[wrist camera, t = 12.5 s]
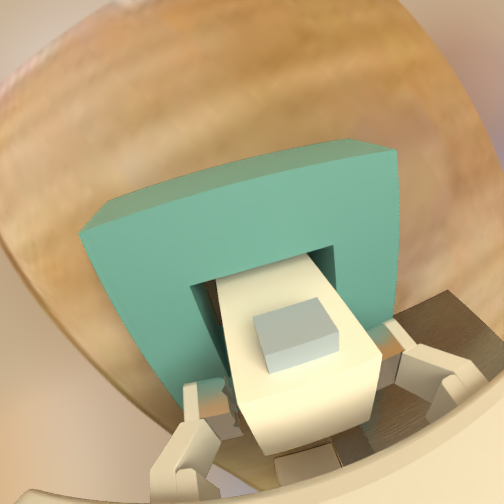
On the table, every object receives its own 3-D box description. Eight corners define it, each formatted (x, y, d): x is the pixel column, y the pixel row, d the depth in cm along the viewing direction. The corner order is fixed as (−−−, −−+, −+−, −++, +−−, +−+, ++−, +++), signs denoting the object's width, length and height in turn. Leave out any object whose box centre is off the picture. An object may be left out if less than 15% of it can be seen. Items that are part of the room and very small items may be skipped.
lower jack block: (348, 138, 13) (396, 149, 10) (358, 320, 19) (386, 359, 15) (107, 201, 12) (78, 233, 9) (187, 371, 18) (190, 420, 14)
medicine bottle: (326, 460, 31) (353, 528, 20) (276, 474, 30) (297, 546, 20) (332, 441, 28) (366, 522, 17) (273, 457, 27) (299, 544, 16)
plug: (285, 215, 14) (385, 334, 6) (298, 292, 17) (369, 420, 9) (207, 236, 14) (229, 387, 6) (231, 311, 16) (265, 456, 8)
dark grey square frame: (447, 289, 20) (525, 365, 11) (423, 375, 25) (469, 440, 17) (319, 344, 19) (382, 468, 10) (324, 420, 25) (359, 503, 16)
